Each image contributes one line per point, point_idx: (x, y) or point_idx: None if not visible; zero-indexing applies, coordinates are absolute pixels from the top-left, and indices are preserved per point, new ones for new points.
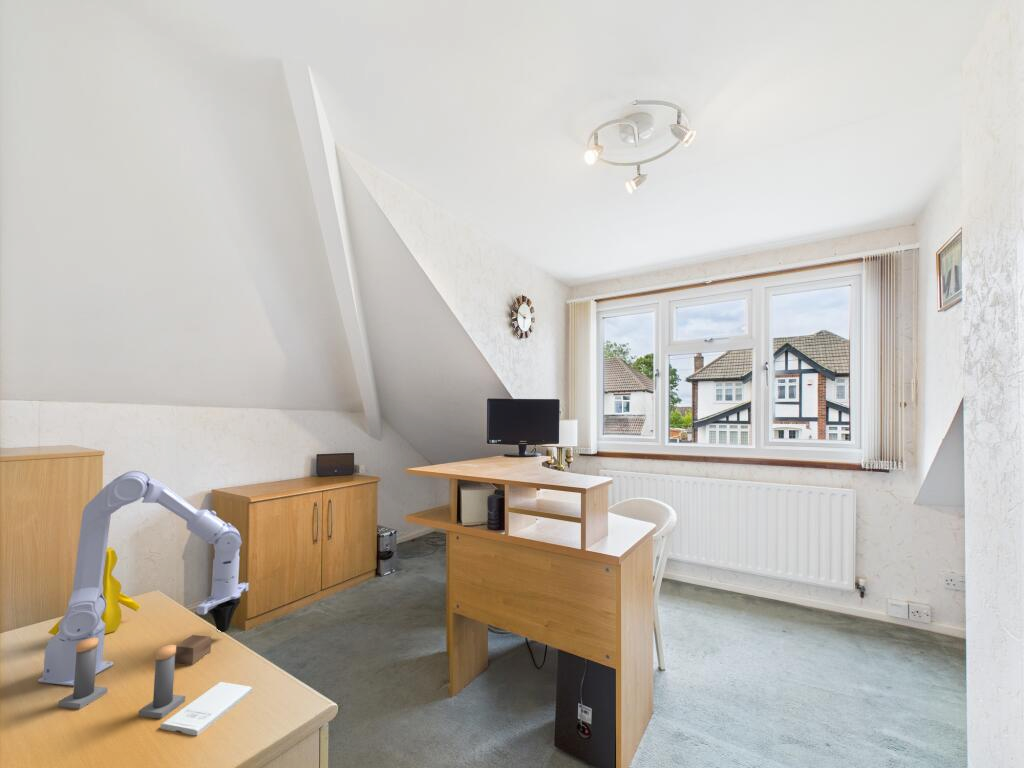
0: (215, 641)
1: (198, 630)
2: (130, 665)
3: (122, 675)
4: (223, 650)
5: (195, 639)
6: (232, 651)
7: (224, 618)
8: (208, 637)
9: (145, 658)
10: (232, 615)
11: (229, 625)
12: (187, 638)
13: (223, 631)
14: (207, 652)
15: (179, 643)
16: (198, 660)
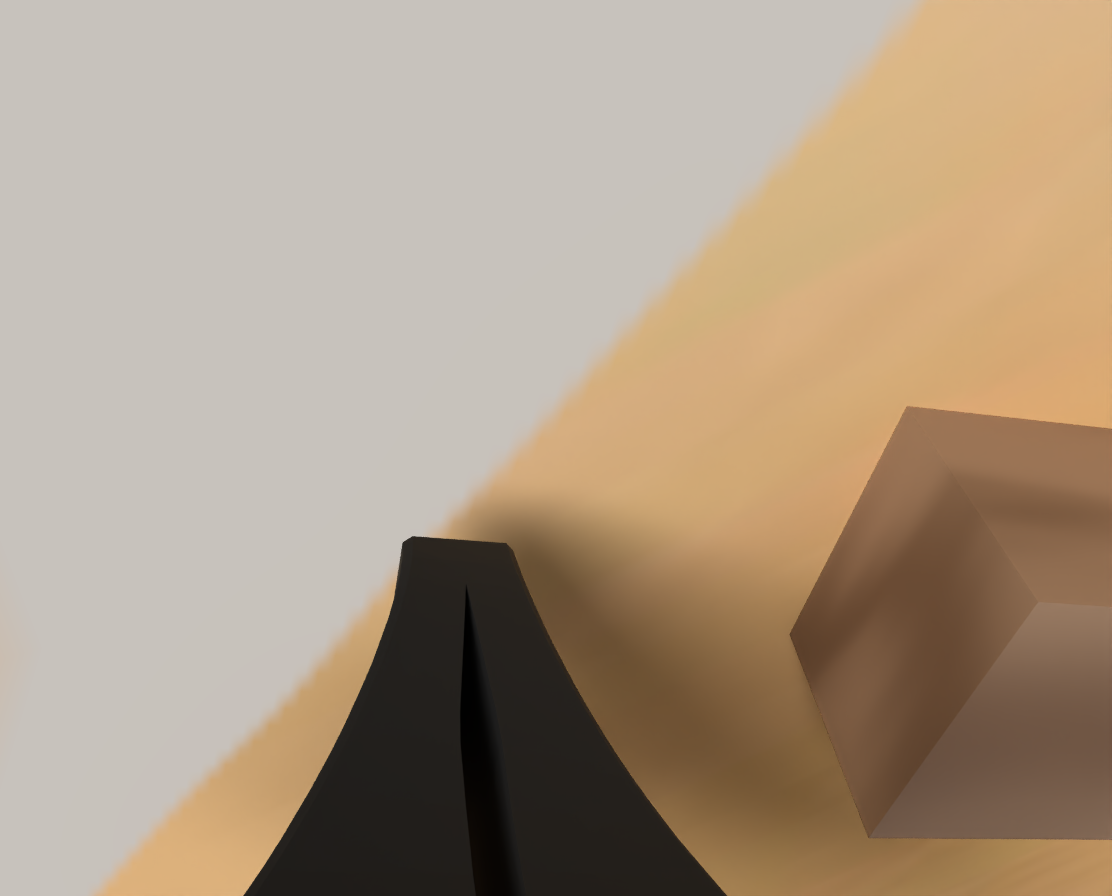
0: (539, 532)
1: (247, 838)
2: (930, 887)
3: (1094, 845)
4: (870, 261)
5: (1052, 743)
6: (961, 69)
7: (635, 786)
8: (1052, 625)
9: (832, 873)
10: (364, 735)
11: (406, 581)
12: (969, 834)
13: (515, 564)
14: (978, 439)
15: (1099, 832)
16: (1109, 436)
